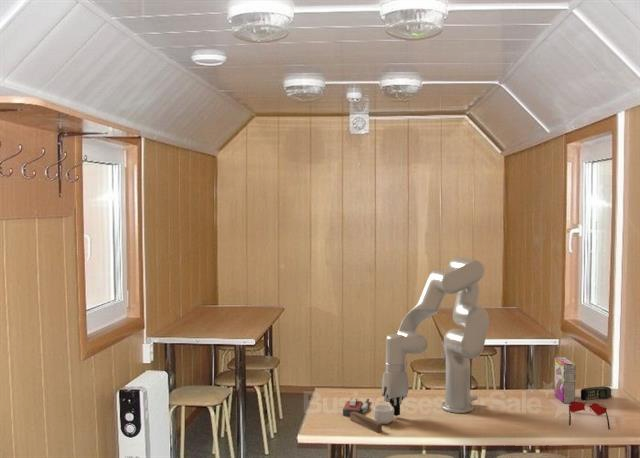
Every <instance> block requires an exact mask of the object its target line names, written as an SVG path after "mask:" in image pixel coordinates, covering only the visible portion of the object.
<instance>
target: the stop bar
mask: <svg viewBox="0 0 640 458" xmlns="http://www.w3.org/2000/svg"><path fill="white" fill-rule="evenodd" d="M349 420H350V421H351V422H354V423H355V424H358V425H360V426H362V427H364V428H366V429H369V430H370V431H373V432H375V433H377V434H379V433H382V432H383V424H382V423H380V422H377V421H376V420H375V419H373V418H371V417H368V416H366V415H363V414H362V413H361V414H359V413H357V412H355V411H354V412H350V419H349Z"/></svg>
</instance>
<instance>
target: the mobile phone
mask: <svg viewBox="0 0 640 458" xmlns="http://www.w3.org/2000/svg"><path fill="white" fill-rule="evenodd" d="M611 396H612V397H613V394H612V388H610V386H594V387H593V386H592V387H585V388H582V389H580V399H581V401H584V400H585V401H593V400H595V399H596V400H606V399H609V398H610V397H611Z"/></svg>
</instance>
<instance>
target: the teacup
mask: <svg viewBox="0 0 640 458" xmlns="http://www.w3.org/2000/svg"><path fill="white" fill-rule="evenodd" d="M394 416H395V415H394V407H393V406H391V404H390V405H389V404H377V405H375V406H374V407H373V417H374V420H375V421H377V422H380V423H382V425H386V424H390V423H391V422H392V421H393V420H394Z"/></svg>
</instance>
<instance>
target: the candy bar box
mask: <svg viewBox="0 0 640 458" xmlns="http://www.w3.org/2000/svg"><path fill="white" fill-rule="evenodd" d="M554 397H556V398H557V399H559V401H560V402H561V403H562V404H567V405H568V404H570V403H571V401H572V402H576V363H574V362H573V361H571V360H570V359H569V358H567V357H562V356H561V357H559V356H557V357H554Z"/></svg>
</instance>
